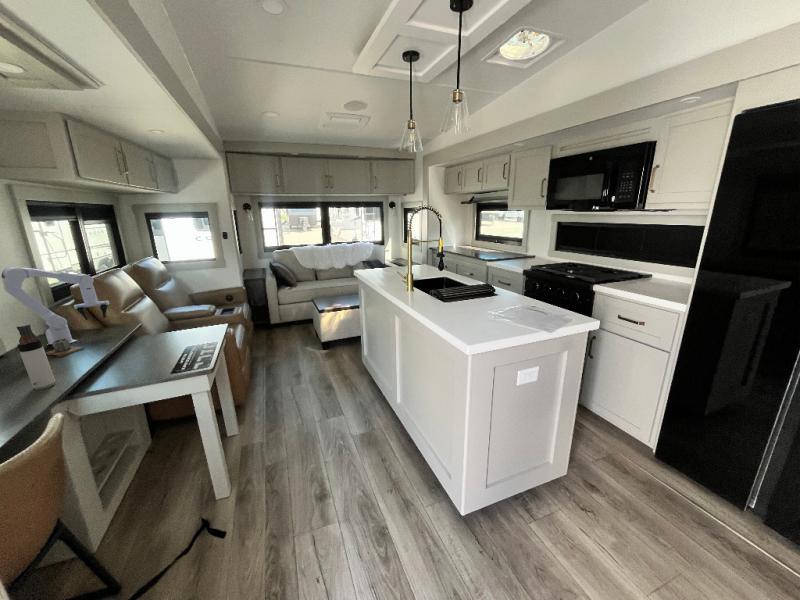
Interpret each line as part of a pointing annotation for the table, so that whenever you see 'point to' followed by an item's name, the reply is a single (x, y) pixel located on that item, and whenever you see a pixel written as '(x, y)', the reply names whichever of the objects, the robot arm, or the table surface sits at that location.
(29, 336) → the sauce bottle
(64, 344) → the octagonal steel tube
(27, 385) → the table surface
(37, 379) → the travel mug
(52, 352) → the brown peg board
